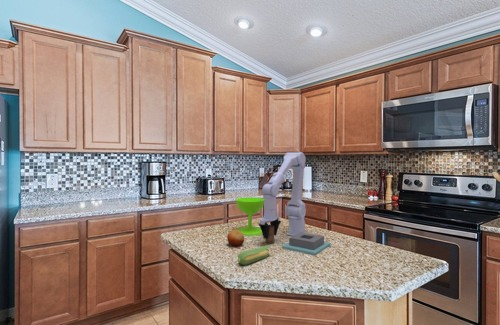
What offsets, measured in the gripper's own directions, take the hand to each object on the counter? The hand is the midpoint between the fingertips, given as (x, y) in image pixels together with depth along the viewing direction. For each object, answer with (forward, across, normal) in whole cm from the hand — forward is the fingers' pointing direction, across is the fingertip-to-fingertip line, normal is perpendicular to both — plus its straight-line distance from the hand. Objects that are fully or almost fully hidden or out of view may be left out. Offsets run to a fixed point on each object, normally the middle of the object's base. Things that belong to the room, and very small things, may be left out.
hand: (269, 236), depth 139 cm
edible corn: (+3, +23, +8) cm, 24 cm away
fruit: (+3, +13, -11) cm, 17 cm away
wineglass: (+3, -11, -20) cm, 23 cm away
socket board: (+3, -5, +17) cm, 18 cm away
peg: (+3, 0, 0) cm, 3 cm away
